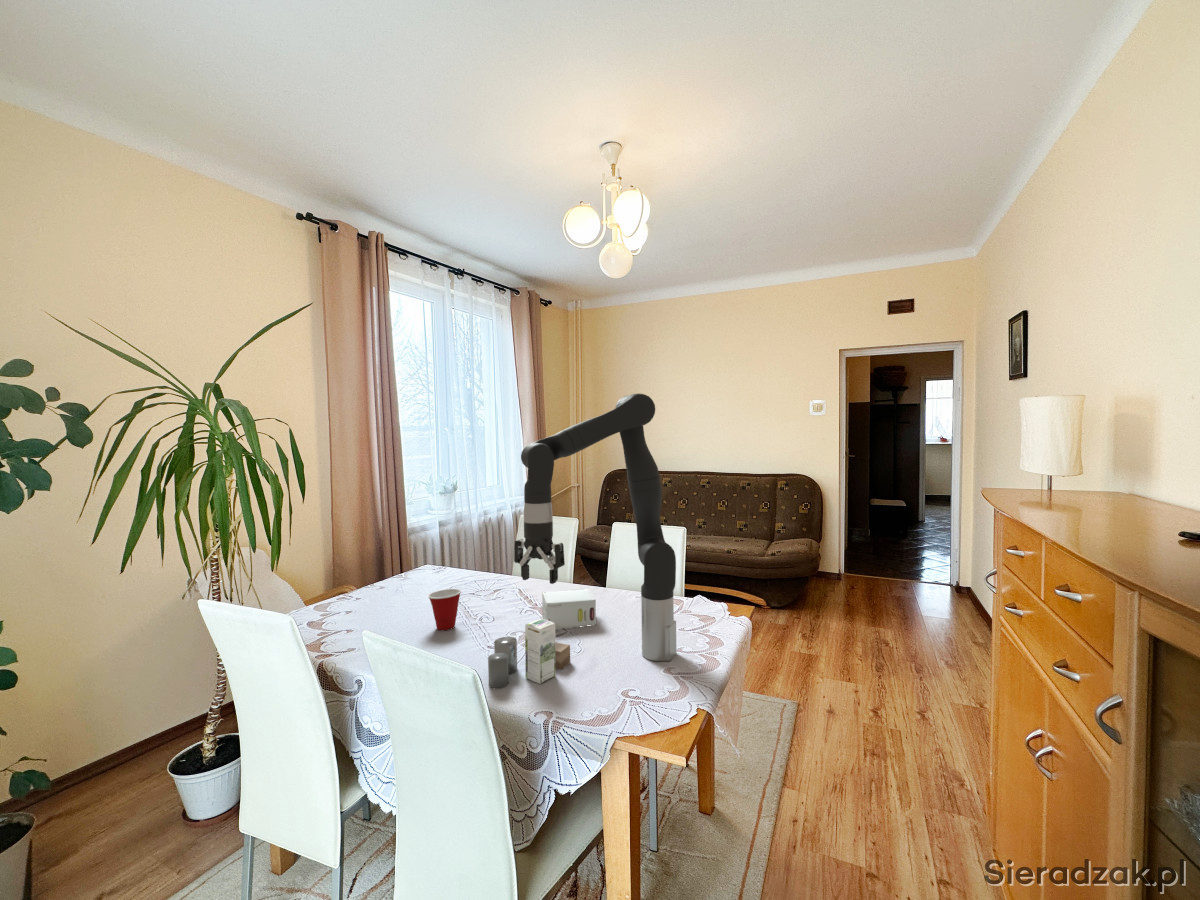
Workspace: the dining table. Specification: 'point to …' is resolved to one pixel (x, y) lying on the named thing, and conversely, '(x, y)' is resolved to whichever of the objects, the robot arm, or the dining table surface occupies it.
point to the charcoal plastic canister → (498, 670)
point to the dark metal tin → (507, 651)
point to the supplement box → (569, 608)
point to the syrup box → (540, 650)
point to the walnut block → (561, 655)
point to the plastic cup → (445, 607)
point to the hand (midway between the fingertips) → (539, 581)
